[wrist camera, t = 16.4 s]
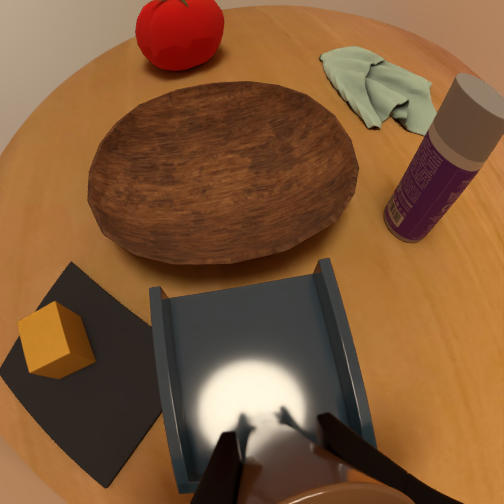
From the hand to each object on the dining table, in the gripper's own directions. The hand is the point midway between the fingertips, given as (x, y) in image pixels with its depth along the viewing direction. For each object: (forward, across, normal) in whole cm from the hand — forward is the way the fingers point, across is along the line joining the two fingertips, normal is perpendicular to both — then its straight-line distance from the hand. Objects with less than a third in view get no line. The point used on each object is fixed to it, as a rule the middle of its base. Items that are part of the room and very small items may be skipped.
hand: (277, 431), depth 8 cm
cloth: (+33, -23, -14) cm, 43 cm away
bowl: (+23, 0, -4) cm, 23 cm away
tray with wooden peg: (+6, 0, +3) cm, 7 cm away
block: (+10, +14, +4) cm, 18 cm away
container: (+18, -16, 0) cm, 24 cm away
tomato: (+40, +3, -22) cm, 46 cm away
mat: (+12, +13, +6) cm, 19 cm away
